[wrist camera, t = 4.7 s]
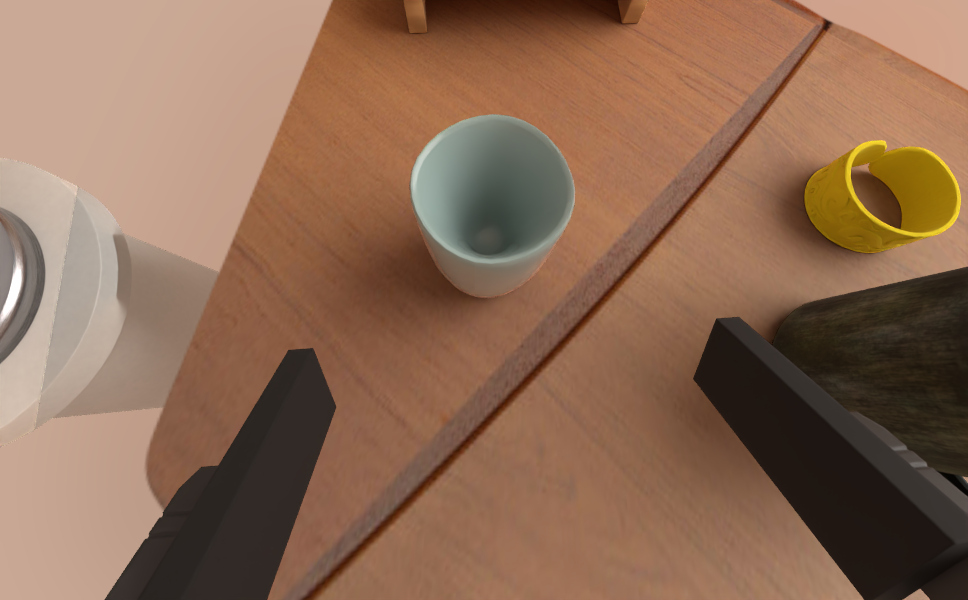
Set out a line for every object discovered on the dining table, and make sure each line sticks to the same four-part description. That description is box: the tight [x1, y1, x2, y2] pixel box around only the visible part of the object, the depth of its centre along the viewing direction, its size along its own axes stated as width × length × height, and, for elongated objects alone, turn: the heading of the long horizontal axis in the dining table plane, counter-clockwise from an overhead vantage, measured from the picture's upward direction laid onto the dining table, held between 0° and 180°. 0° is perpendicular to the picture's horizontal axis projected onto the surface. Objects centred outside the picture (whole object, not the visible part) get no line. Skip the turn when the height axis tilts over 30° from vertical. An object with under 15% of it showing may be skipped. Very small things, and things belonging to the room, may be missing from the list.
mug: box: [772, 267, 968, 497], centre depth 19 cm, size 11×15×12 cm
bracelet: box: [804, 140, 961, 253], centre depth 26 cm, size 7×8×3 cm
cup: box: [409, 114, 575, 298], centre depth 21 cm, size 8×8×10 cm
